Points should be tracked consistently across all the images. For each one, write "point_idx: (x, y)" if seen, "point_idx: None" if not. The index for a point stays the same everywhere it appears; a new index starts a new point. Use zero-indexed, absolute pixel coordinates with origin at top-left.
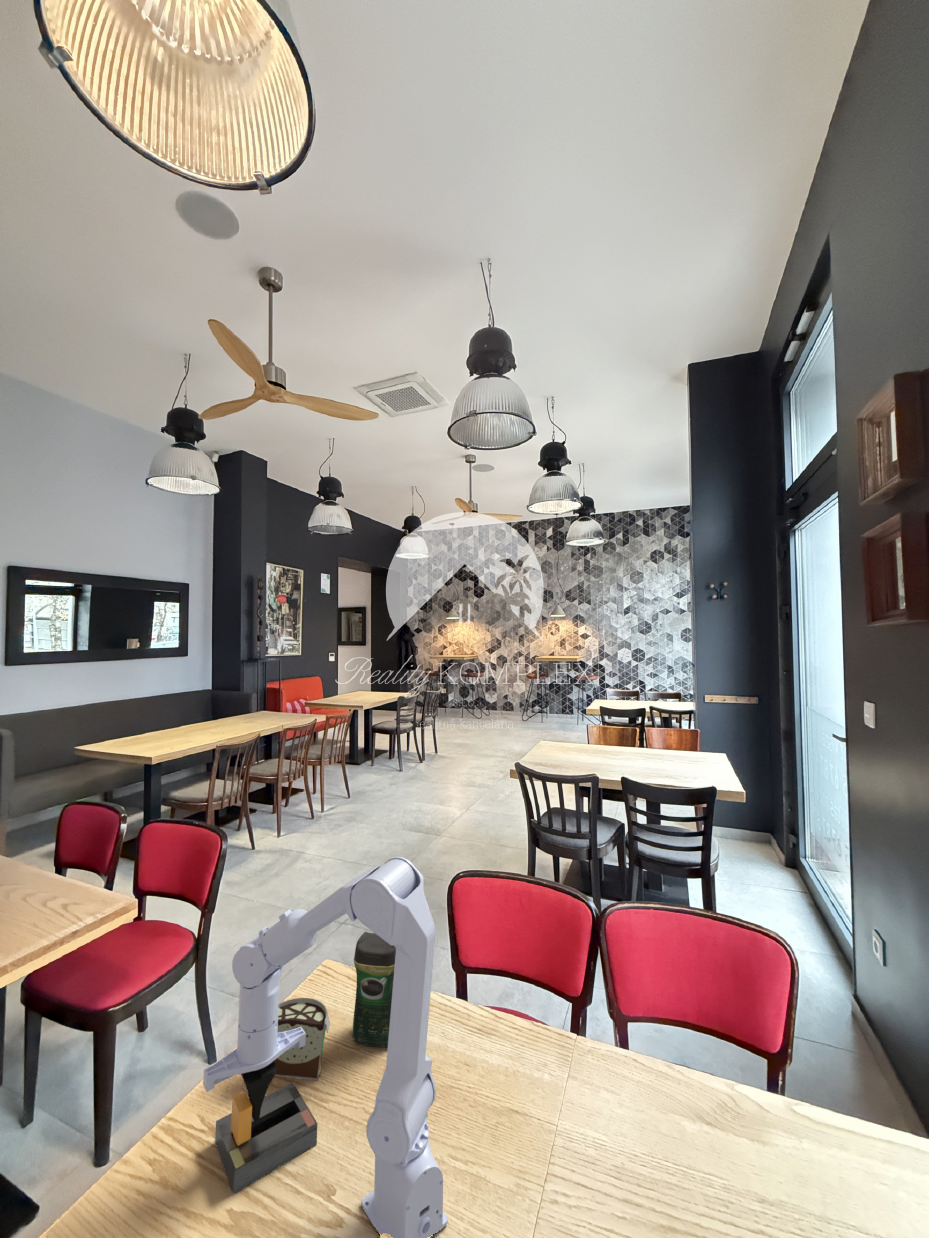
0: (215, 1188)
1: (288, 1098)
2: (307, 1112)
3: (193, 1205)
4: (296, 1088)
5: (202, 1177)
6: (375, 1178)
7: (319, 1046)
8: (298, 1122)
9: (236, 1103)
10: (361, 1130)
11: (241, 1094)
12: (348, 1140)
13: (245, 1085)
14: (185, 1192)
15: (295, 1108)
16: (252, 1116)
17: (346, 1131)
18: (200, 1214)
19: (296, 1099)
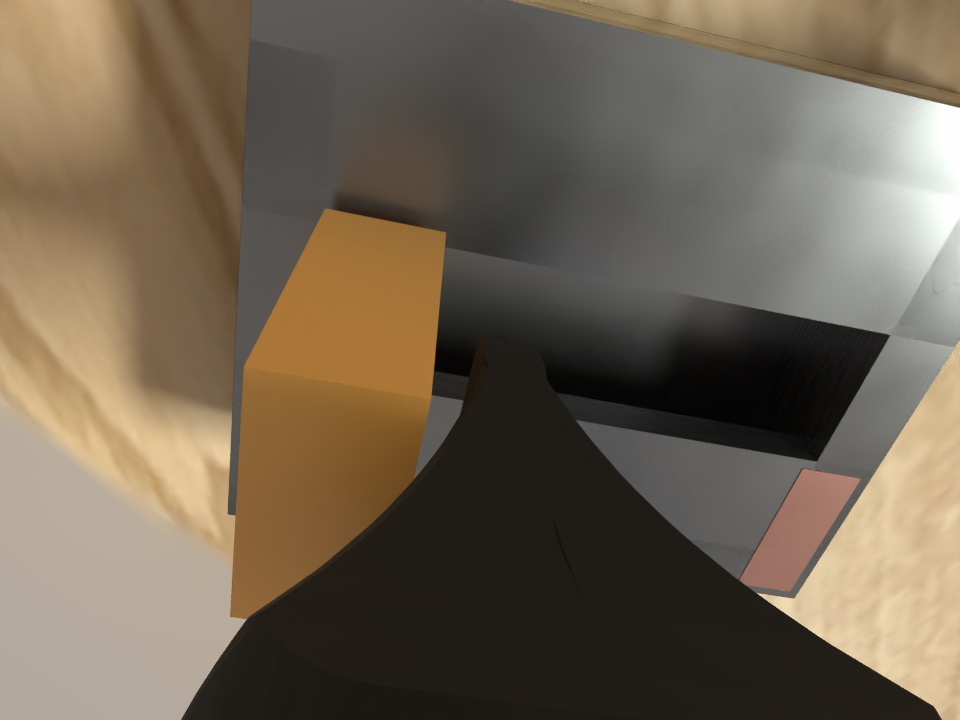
0: (191, 315)
1: (879, 288)
2: (834, 498)
3: (51, 315)
4: None
5: (136, 178)
6: None
7: None
8: (731, 518)
9: (251, 493)
10: (938, 592)
11: (364, 419)
12: (854, 587)
13: (421, 471)
14: (13, 195)
15: (848, 343)
16: (464, 403)
17: (899, 548)
18: (80, 389)
19: (903, 344)
